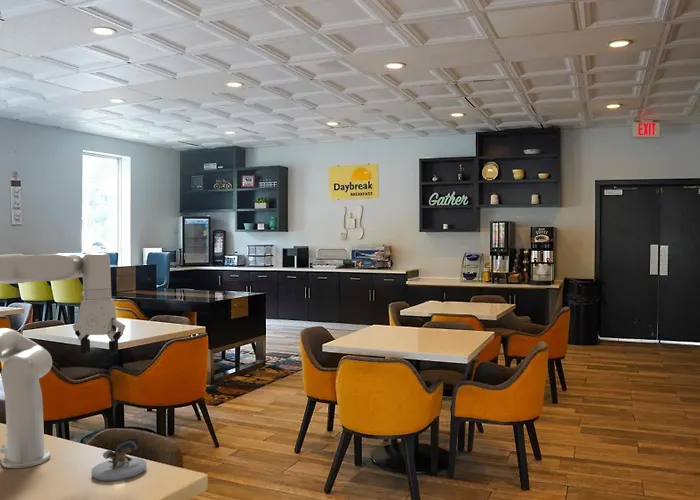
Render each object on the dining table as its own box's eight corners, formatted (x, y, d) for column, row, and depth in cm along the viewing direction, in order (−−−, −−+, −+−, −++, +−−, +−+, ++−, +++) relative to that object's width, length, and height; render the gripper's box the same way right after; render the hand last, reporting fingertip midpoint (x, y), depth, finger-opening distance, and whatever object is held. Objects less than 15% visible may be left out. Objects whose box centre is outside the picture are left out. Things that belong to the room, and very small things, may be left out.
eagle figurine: (133, 465, 166) (146, 448, 175) (116, 445, 165) (130, 428, 174) (111, 479, 167) (125, 461, 176) (95, 459, 167) (109, 442, 175)
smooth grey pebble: (80, 480, 164) (79, 474, 164) (114, 461, 178) (113, 456, 178) (125, 484, 160) (125, 478, 160) (156, 465, 174) (156, 459, 174)
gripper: (63, 296, 180) (65, 355, 180) (114, 296, 175) (116, 356, 176) (81, 294, 187) (83, 350, 188) (131, 294, 182) (132, 352, 183)
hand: (99, 353), depth 182 cm, fingers open, 9 cm apart
